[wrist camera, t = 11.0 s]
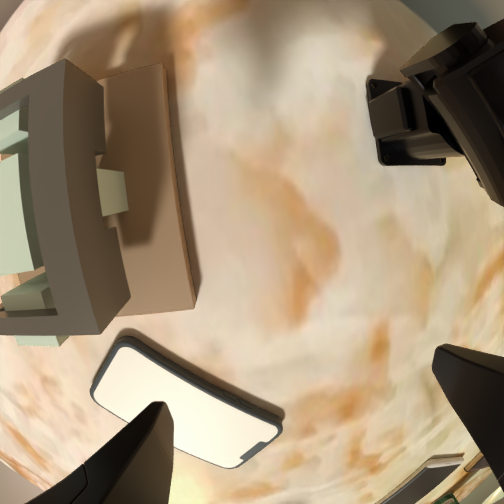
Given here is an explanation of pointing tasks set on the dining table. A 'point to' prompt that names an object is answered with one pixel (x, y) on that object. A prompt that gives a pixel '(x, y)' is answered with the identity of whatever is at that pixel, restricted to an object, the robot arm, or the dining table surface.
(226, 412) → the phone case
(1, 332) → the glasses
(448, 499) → the canned tomato
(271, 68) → the dining table surface
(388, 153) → the robot arm
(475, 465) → the hardcover book
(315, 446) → the dining table surface
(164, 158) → the green blocks on base
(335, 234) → the dining table surface
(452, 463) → the smartphone
